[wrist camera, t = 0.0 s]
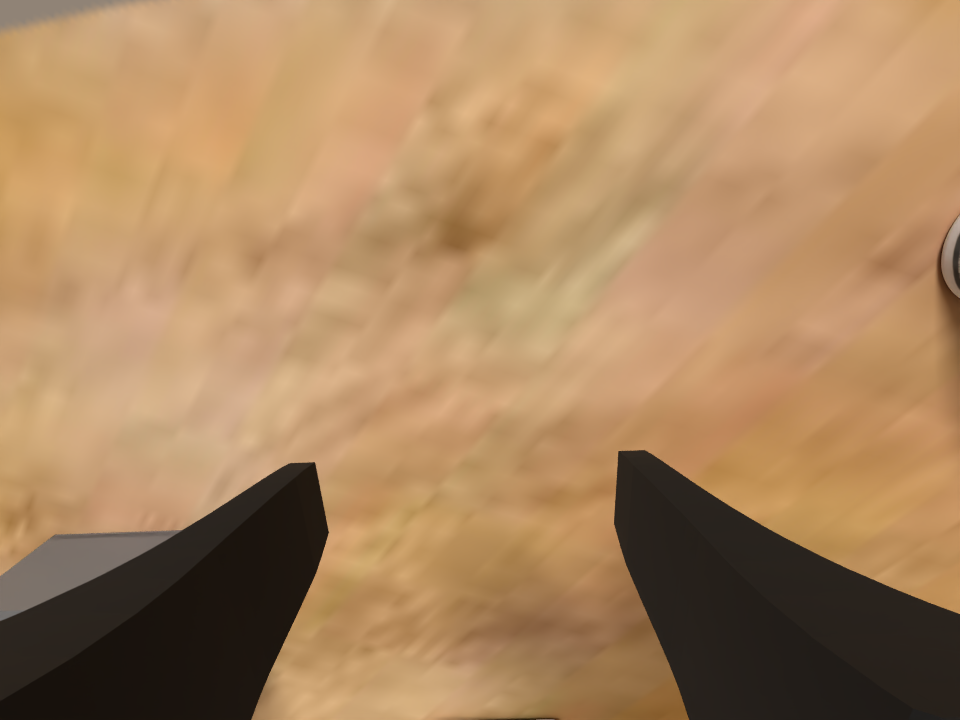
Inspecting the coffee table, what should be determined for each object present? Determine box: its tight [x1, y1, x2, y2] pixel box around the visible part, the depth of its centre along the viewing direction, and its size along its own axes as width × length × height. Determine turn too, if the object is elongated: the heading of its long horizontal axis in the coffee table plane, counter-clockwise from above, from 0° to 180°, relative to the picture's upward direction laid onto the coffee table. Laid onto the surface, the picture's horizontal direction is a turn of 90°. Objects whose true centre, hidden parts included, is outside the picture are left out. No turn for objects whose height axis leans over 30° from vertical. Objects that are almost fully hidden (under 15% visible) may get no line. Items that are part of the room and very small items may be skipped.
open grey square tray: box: [0, 530, 182, 621], centre depth 23 cm, size 8×8×5 cm
